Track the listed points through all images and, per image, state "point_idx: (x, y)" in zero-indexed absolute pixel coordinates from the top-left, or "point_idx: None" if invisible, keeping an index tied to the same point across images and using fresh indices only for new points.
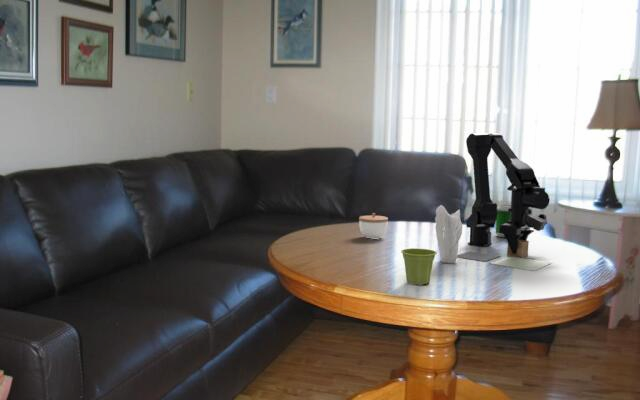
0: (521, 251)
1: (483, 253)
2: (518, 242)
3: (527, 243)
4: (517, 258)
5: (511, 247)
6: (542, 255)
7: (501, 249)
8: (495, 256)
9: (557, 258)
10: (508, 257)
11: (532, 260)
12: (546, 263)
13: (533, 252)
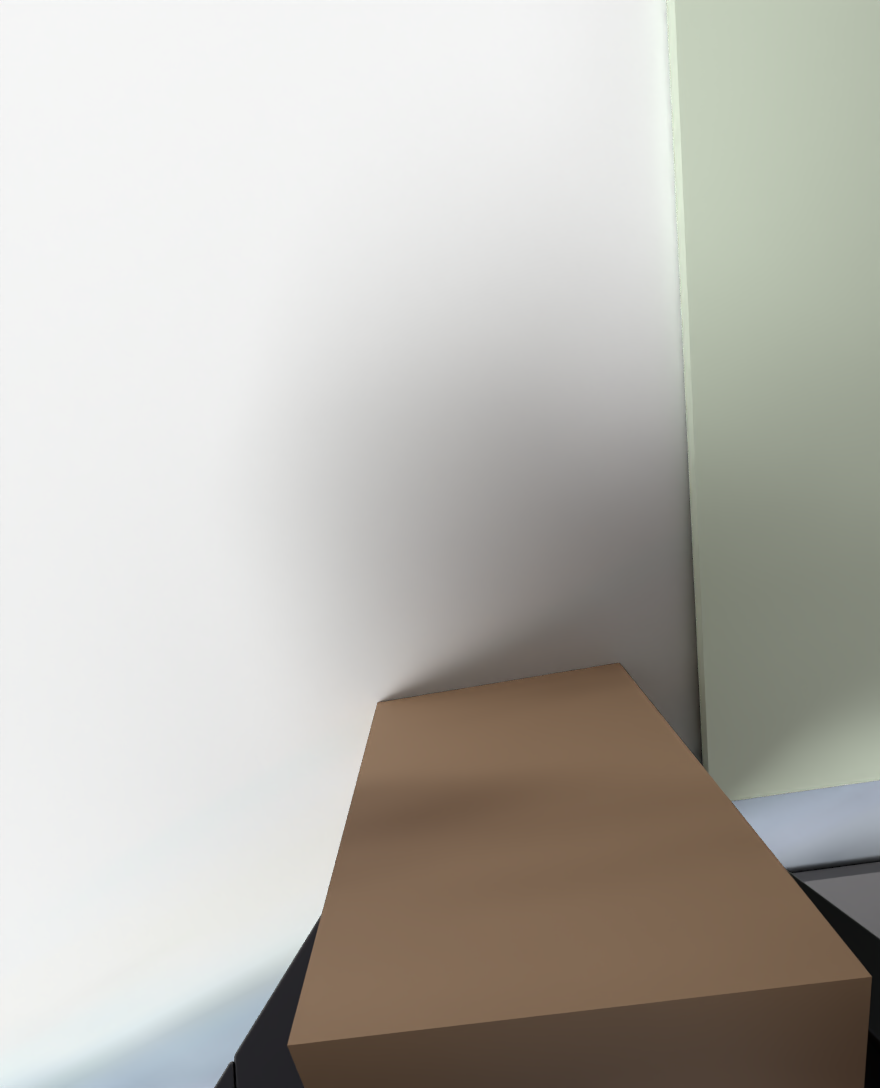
0: (679, 744)
1: None
2: (856, 1069)
3: (393, 927)
4: (779, 652)
5: None
6: (154, 574)
7: None
8: (871, 898)
9: (113, 242)
10: (803, 769)
11: (753, 399)
12: (842, 4)
13: (101, 774)
